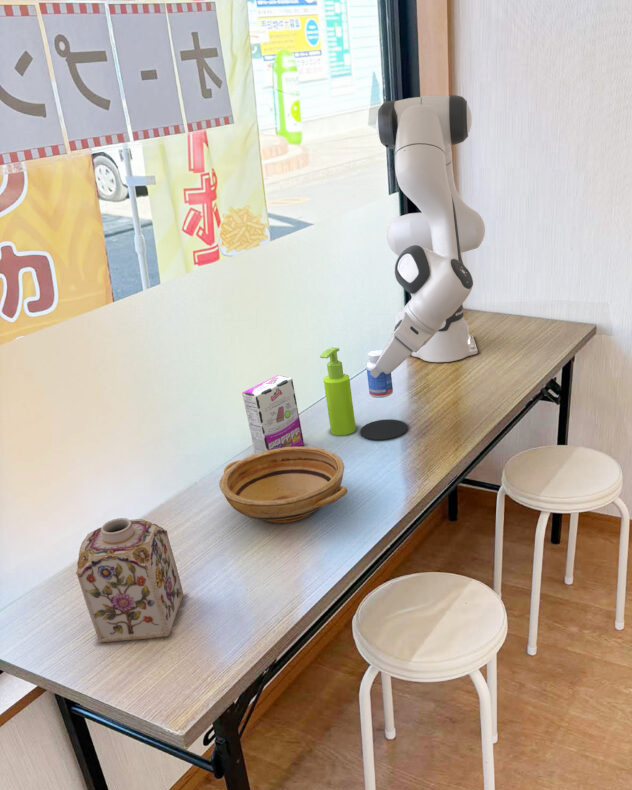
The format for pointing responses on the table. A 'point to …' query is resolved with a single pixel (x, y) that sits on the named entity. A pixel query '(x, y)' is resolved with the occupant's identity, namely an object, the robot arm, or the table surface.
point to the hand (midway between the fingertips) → (375, 369)
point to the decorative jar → (129, 580)
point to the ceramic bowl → (283, 483)
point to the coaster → (383, 430)
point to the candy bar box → (273, 415)
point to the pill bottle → (378, 378)
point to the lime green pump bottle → (338, 396)
